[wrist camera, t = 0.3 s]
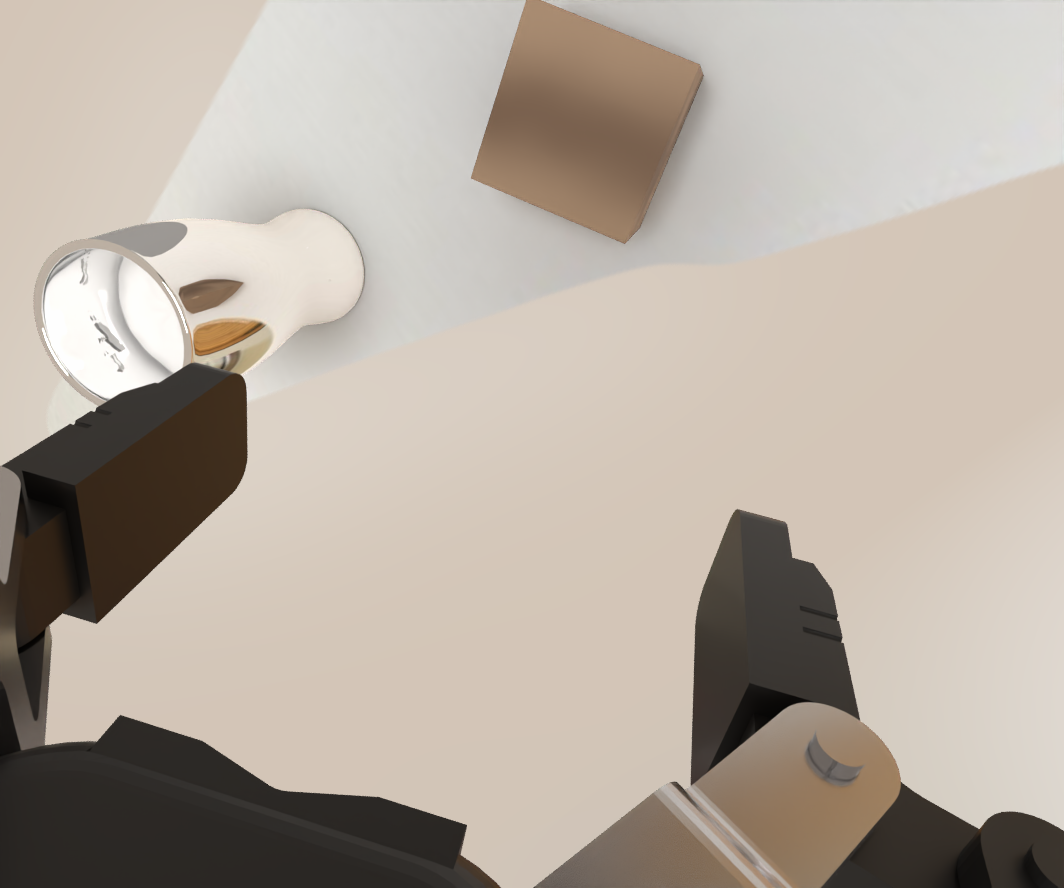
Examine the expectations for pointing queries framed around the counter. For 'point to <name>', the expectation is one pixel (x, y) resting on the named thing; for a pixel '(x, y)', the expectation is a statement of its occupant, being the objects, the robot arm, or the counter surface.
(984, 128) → the counter surface
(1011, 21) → the counter surface
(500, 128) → the walnut block
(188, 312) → the beer glass
